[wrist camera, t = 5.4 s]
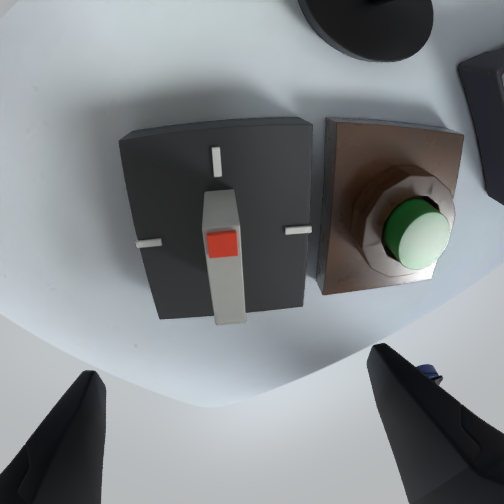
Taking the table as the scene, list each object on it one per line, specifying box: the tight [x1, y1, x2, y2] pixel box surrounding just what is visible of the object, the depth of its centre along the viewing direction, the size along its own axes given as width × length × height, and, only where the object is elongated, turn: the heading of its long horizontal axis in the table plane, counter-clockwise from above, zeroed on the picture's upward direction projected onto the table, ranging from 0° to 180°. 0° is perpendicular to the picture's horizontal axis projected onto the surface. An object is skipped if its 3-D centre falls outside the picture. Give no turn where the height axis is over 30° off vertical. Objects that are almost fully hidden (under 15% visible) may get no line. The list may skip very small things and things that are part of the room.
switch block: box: [316, 118, 464, 295], centre depth 17 cm, size 11×9×4 cm
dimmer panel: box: [119, 117, 313, 319], centre depth 17 cm, size 11×9×3 cm
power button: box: [384, 199, 450, 270], centre depth 15 cm, size 4×4×2 cm
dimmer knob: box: [202, 189, 246, 325], centre depth 14 cm, size 5×1×4 cm, turn 2°
